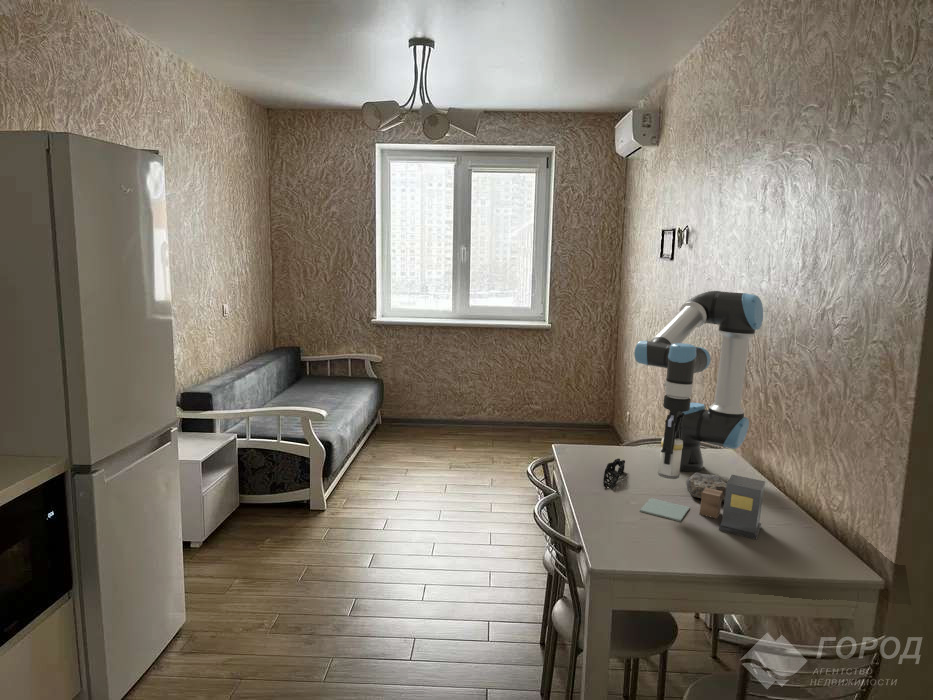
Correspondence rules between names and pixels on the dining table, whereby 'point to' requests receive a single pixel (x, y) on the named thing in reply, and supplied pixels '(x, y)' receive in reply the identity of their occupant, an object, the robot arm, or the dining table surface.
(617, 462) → the decorative element
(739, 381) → the robot arm
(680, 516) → the mat
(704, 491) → the walnut block
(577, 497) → the dining table surface
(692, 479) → the rock
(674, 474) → the cartridge
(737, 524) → the box
